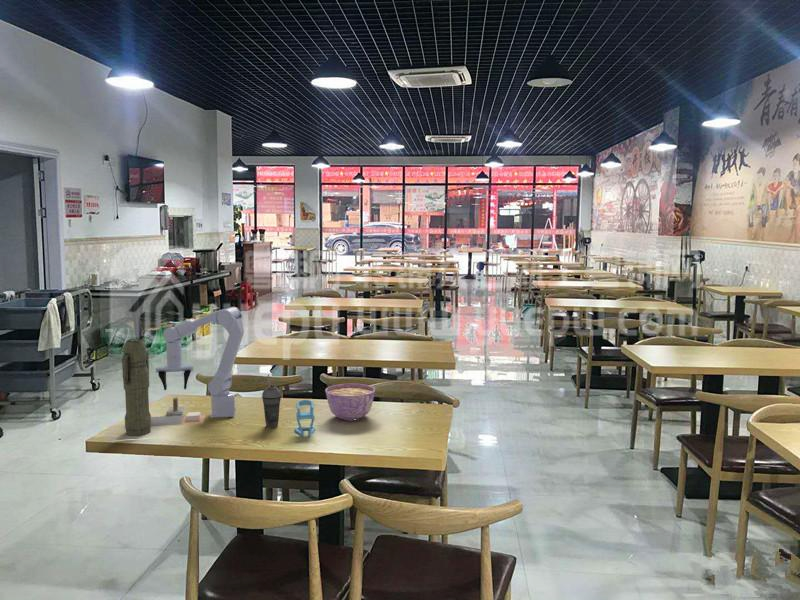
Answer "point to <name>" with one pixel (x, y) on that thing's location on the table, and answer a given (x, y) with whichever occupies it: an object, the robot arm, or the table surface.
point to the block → (193, 416)
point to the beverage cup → (271, 405)
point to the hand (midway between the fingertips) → (175, 389)
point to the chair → (305, 417)
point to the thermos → (136, 387)
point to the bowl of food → (350, 400)
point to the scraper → (176, 408)
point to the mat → (173, 420)
